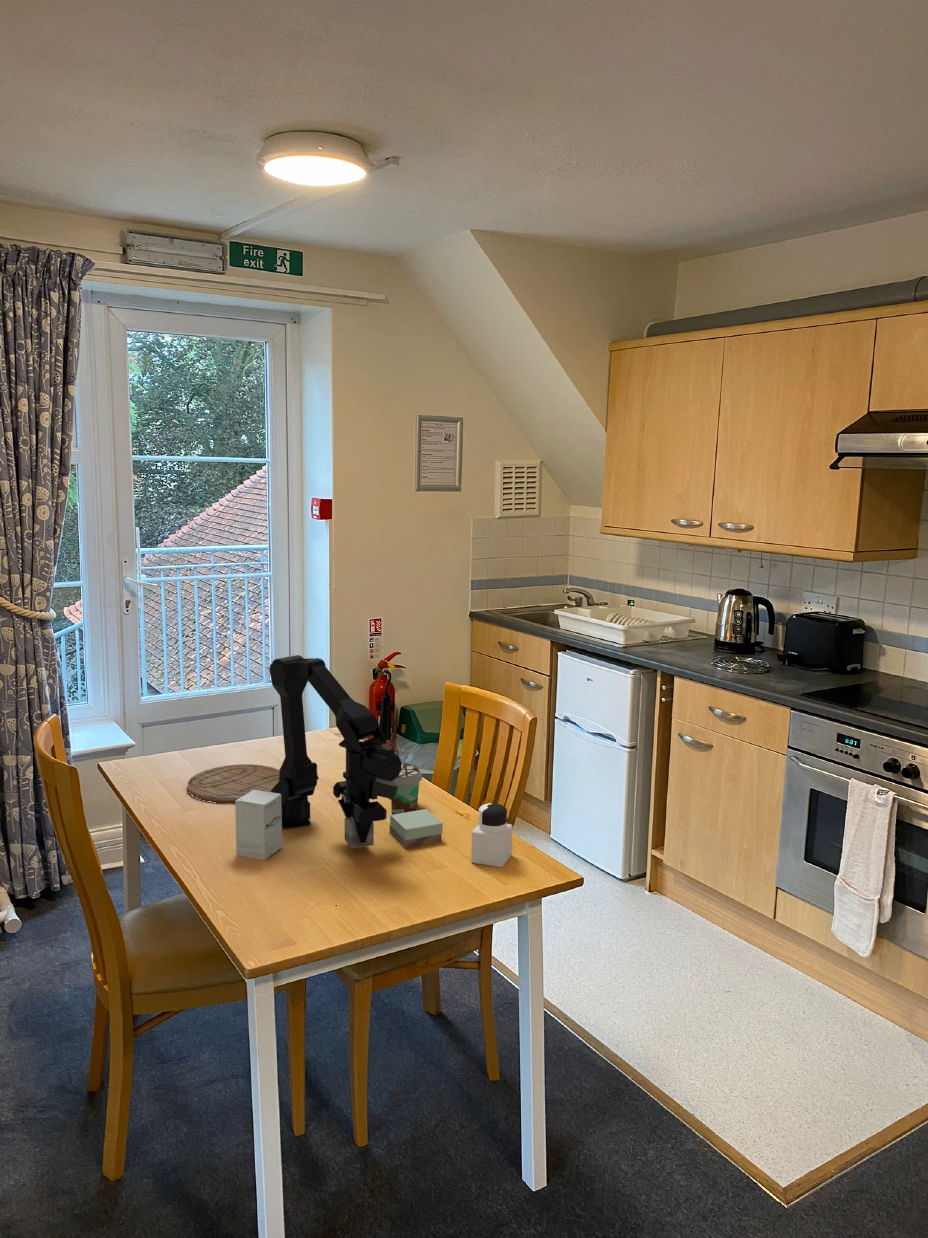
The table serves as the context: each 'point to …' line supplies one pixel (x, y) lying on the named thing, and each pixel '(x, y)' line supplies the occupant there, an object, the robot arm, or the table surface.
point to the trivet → (232, 782)
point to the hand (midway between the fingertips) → (359, 837)
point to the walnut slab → (414, 841)
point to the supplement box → (258, 824)
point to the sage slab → (416, 824)
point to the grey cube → (352, 835)
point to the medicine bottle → (492, 836)
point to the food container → (407, 789)
